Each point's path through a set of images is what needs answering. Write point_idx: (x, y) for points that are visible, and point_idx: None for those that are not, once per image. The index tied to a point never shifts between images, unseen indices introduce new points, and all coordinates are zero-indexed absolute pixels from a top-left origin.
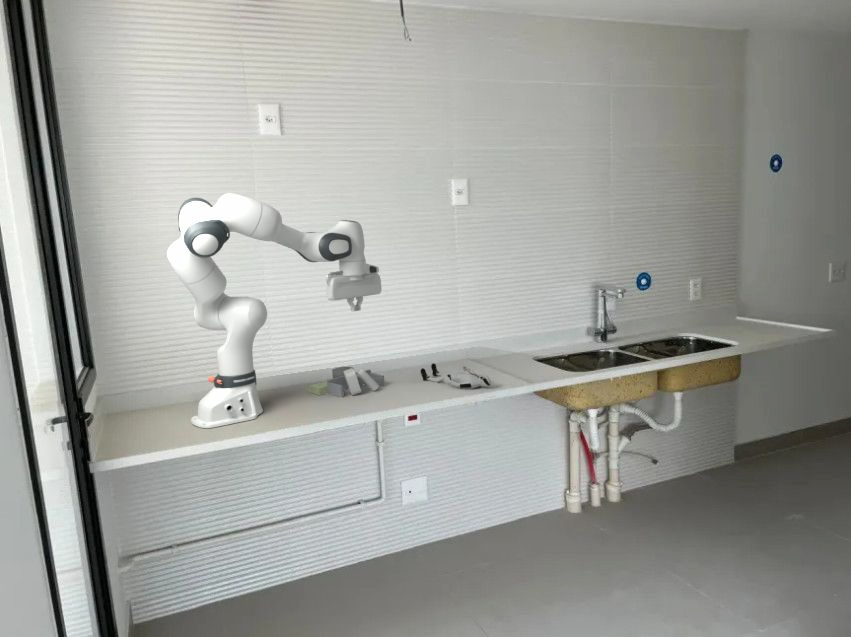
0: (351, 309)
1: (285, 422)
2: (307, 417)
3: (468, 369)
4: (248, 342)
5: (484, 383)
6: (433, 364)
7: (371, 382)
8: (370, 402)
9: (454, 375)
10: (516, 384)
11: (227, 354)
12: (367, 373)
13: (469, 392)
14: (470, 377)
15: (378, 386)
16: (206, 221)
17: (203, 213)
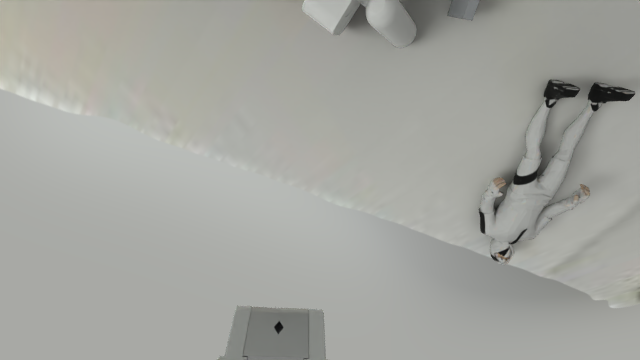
0: (233, 325)
1: (41, 49)
2: (111, 67)
3: (572, 202)
4: None
5: (490, 252)
6: (621, 99)
7: (388, 39)
8: (301, 111)
9: (525, 192)
10: (535, 261)
11: None
12: (396, 26)
13: (460, 230)
14: (505, 233)
15: (404, 46)
16: None
17: None
